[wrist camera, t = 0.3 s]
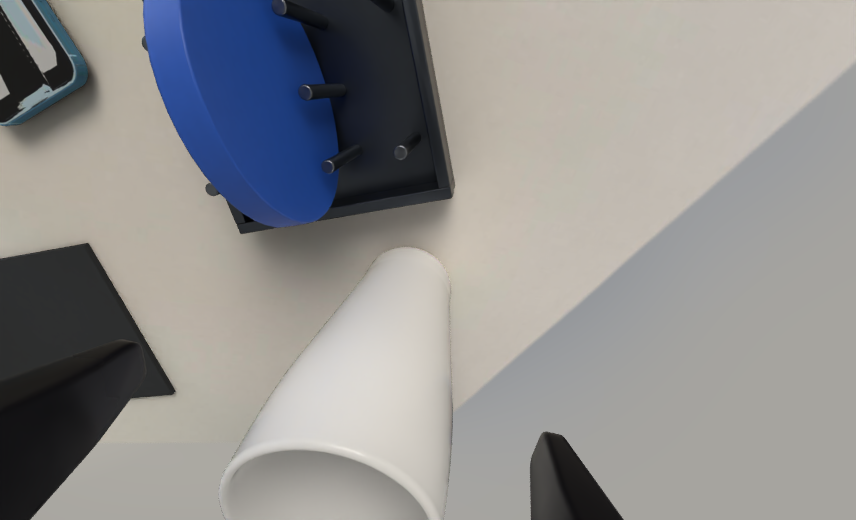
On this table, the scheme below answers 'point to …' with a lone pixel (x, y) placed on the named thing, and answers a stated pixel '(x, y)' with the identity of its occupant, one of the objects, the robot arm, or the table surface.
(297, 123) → the plate
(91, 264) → the mat
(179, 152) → the table surface
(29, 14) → the smartphone
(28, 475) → the robot arm
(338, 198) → the rack
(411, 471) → the drinking glass
